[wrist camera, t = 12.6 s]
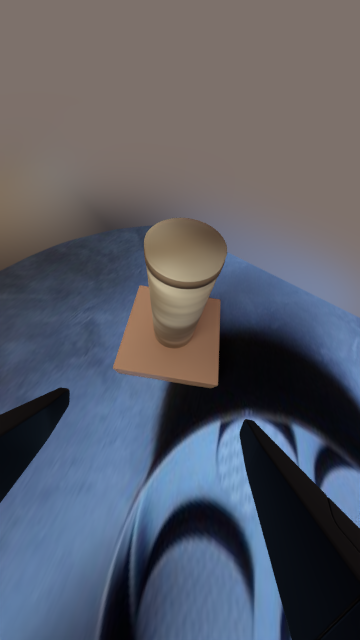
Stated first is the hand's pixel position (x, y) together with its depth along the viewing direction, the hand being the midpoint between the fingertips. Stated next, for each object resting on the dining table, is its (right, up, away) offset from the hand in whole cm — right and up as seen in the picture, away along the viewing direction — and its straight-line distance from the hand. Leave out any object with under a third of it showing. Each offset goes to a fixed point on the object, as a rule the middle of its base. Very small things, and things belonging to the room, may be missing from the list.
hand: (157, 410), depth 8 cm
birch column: (0, +3, +13) cm, 14 cm away
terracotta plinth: (0, +2, +16) cm, 16 cm away
